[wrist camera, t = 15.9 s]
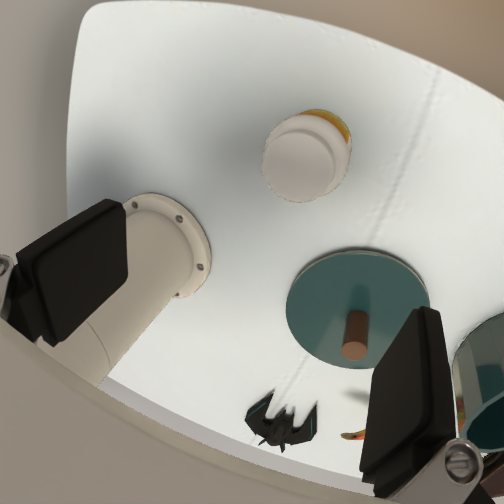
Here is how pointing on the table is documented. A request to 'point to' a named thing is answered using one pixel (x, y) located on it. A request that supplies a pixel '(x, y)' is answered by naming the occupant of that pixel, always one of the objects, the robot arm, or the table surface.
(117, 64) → the table surface
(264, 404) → the angular spaceship
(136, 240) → the robot arm
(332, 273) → the lid
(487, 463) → the diary
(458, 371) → the tin
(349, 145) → the supplement bottle
